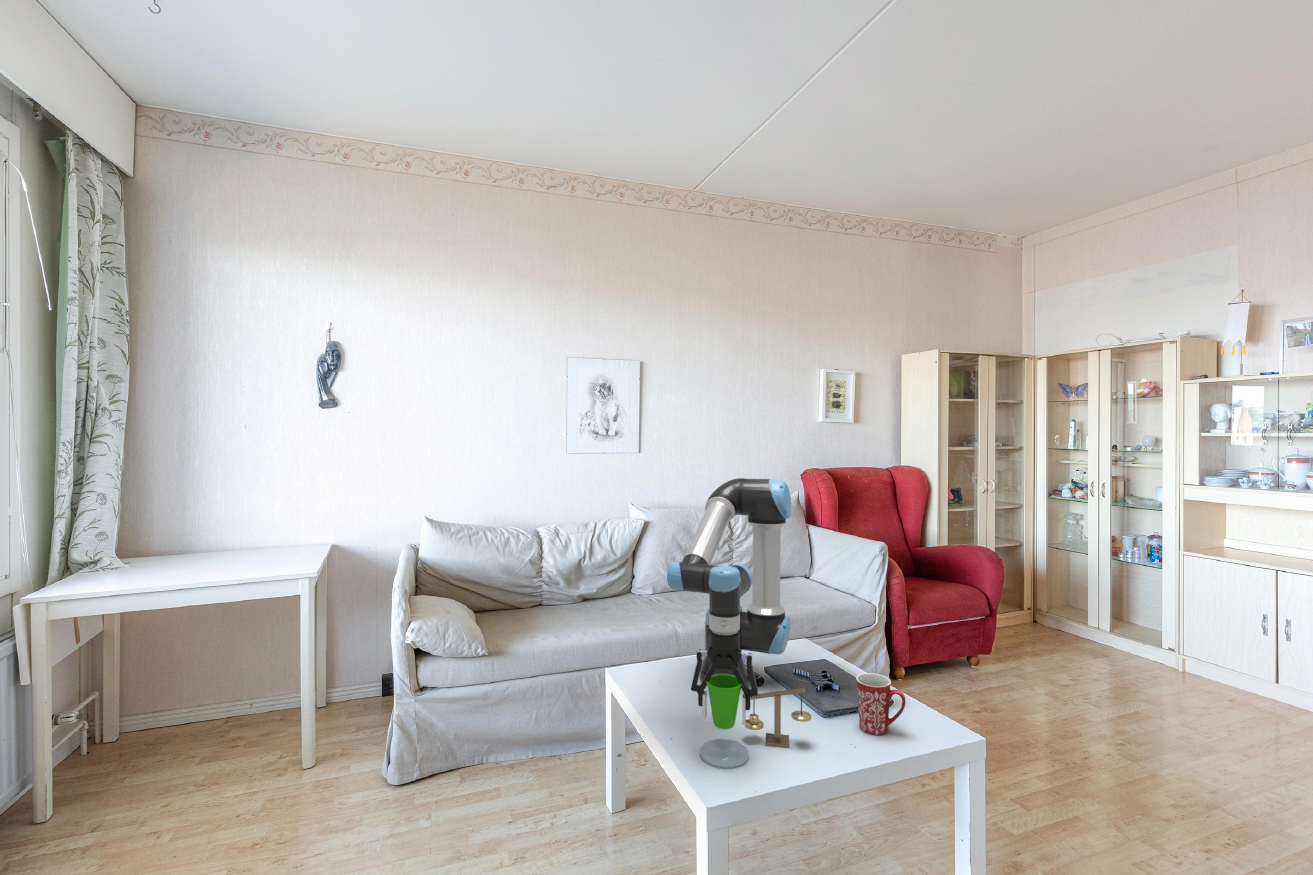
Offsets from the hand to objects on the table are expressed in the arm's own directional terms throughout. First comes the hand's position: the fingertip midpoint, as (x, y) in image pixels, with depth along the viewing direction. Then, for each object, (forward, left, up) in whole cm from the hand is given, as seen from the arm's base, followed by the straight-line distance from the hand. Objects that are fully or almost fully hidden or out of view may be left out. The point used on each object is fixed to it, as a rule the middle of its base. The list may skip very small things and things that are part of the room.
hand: (724, 720), depth 154 cm
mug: (-20, +40, -9) cm, 46 cm away
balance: (-9, +13, -9) cm, 18 cm away
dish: (0, 0, -9) cm, 9 cm away
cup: (0, 0, -1) cm, 1 cm away
